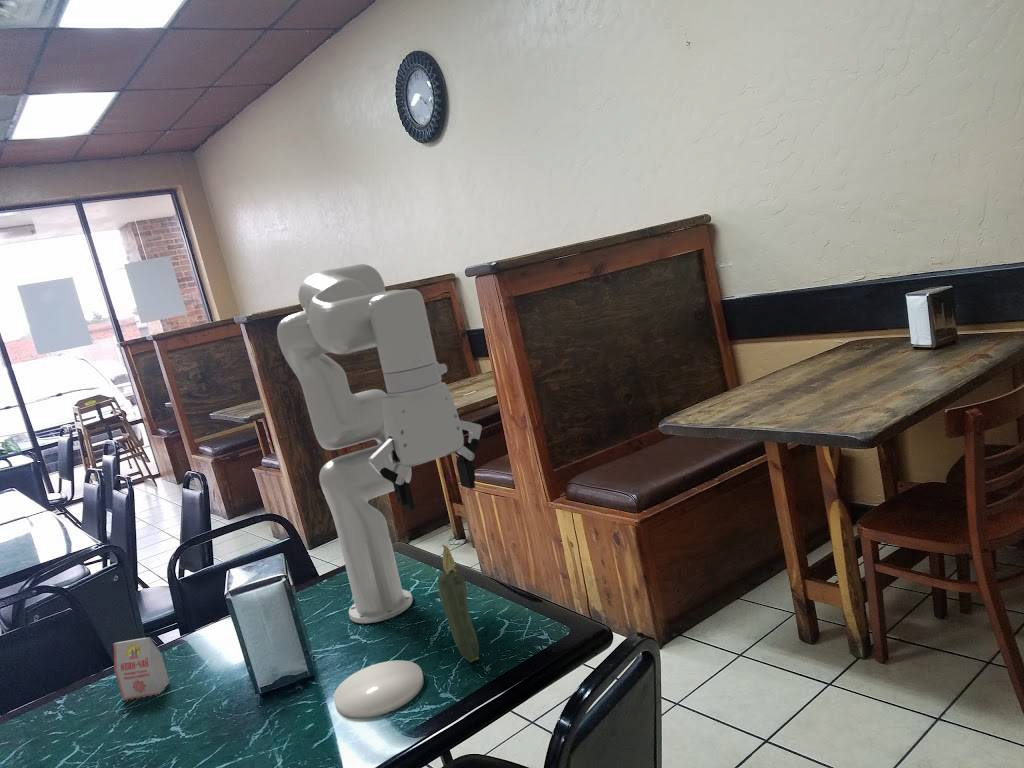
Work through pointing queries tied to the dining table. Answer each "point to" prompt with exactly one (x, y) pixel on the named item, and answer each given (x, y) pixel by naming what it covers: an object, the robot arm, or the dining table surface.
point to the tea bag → (139, 668)
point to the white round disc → (378, 689)
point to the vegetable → (457, 608)
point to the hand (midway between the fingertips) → (439, 497)
